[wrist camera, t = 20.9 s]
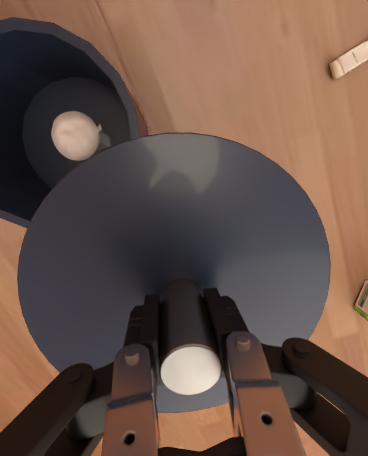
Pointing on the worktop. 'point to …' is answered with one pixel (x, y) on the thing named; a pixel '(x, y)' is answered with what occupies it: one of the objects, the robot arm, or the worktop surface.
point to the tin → (51, 108)
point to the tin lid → (172, 257)
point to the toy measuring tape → (349, 60)
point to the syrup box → (362, 302)
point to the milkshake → (78, 136)
